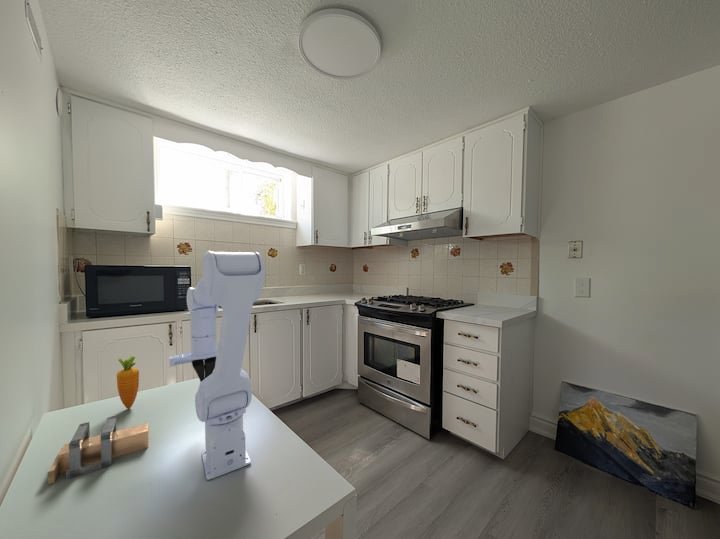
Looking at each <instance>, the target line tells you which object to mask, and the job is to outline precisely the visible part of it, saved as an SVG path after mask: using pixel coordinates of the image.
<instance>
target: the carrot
mask: <svg viewBox="0 0 720 539" xmlns="http://www.w3.org/2000/svg"><path fill="white" fill-rule="evenodd" d="M135 359H136V356H135V355H131V356H130V357H128V359H127V358H126V359H124V360H123V359H122V358H121V357H120V358H118V362H119V363H120V364H121V366H122V369H121V370H119V371H118V372H117V373H116V384H117V392H118V395H119V398H120V401H121V403H122V404H123V406H124V407H125V409H127V410H129V409H131V408H132V406H133V405H134V402H135V401H136V398H137V395H138V391H139V385H140V371H139V369H137V368H136V367H134V365H136V364H137V362H136V361H135V362H134V360H135Z"/></svg>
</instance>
